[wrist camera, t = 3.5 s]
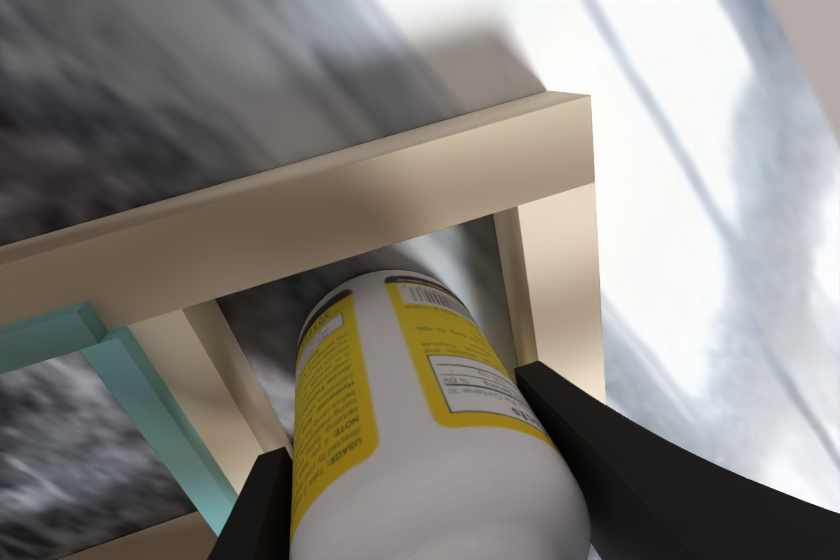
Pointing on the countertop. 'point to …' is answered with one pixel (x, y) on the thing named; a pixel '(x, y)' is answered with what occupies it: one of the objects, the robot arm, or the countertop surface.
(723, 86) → the countertop surface
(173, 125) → the countertop surface
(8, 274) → the panel
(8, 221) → the countertop surface
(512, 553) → the supplement bottle
